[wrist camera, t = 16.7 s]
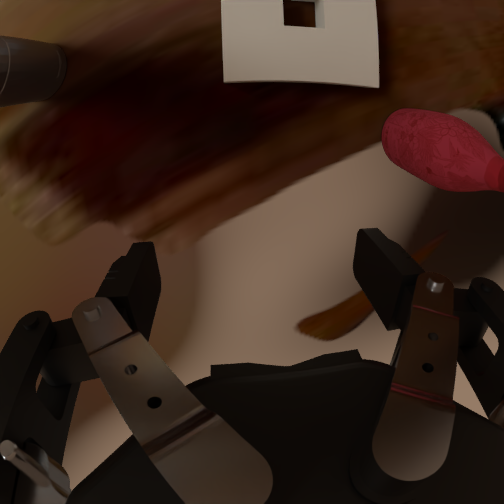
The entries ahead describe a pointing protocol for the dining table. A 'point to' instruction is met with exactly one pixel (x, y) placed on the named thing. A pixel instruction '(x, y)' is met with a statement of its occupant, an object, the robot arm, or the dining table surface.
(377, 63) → the cover plate
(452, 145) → the wine bottle
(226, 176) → the dining table surface
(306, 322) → the dining table surface
